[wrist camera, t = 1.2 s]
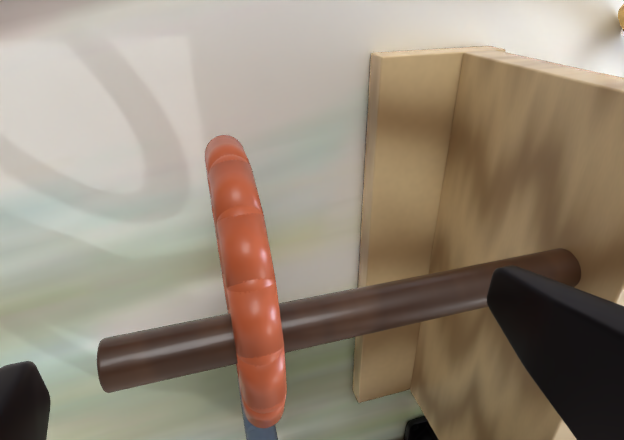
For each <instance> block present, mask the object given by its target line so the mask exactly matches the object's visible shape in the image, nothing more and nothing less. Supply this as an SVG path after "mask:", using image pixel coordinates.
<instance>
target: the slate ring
mask: <svg viewBox="0 0 624 440" xmlns="http://www.w3.org/2000/svg"><path fill="white" fill-rule="evenodd" d="M238 386H239V393H240V399H241V406H242V413H243V419H244V426H245V432H246V439H247V440H278V438H277V433H276V427H275V425H273V426H271V427H268V428H258V427H256V426H254V425H252V424H251V423H250V422H249V421H248V419H247V418H246V415H245V412H244V407H243V402H242V396H241V390H240V385H239V379H238Z"/></svg>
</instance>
